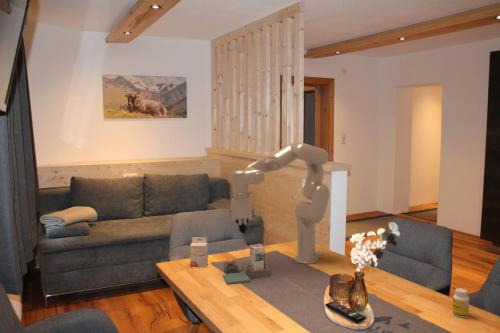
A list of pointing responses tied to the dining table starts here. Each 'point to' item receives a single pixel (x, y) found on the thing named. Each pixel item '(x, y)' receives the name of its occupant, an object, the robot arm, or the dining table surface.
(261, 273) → the frame
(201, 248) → the ink cartridge box
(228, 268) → the plunger housing
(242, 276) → the mat
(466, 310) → the supplement bottle
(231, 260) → the plunger
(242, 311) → the dining table surface
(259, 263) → the syrup box
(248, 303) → the dining table surface
